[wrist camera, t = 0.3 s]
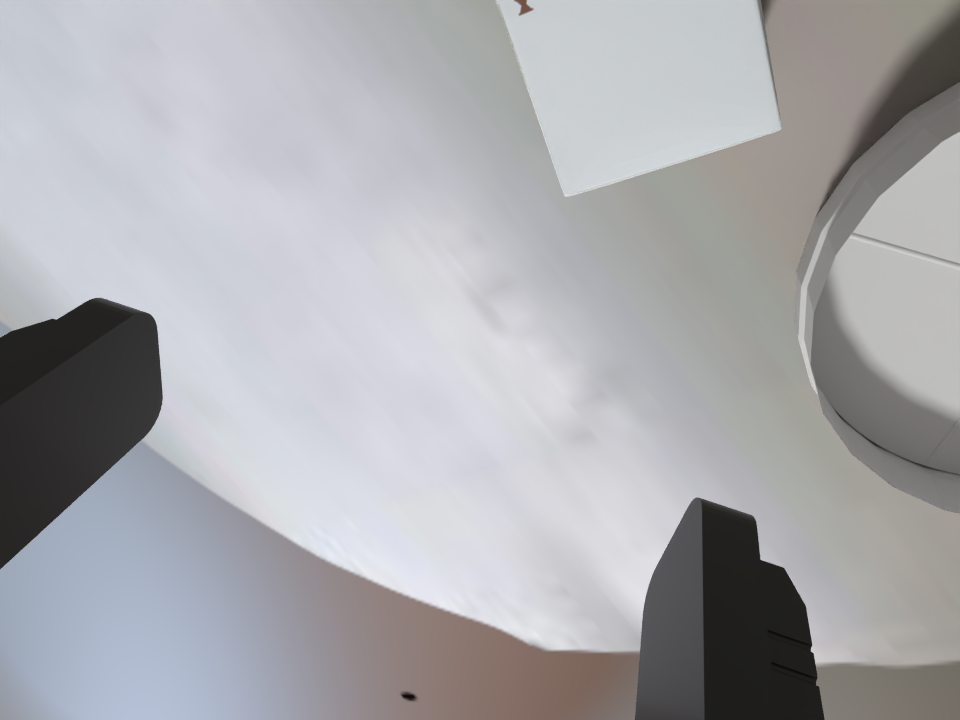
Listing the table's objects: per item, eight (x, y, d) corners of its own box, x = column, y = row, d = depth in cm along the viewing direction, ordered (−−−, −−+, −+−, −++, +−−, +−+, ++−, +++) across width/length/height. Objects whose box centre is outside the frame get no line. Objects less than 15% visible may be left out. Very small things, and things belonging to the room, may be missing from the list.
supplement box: (597, 123, 34) (556, 204, 24) (550, -38, 31) (480, -27, 21) (754, 70, 31) (787, 136, 21) (720, -113, 28) (737, -144, 18)
